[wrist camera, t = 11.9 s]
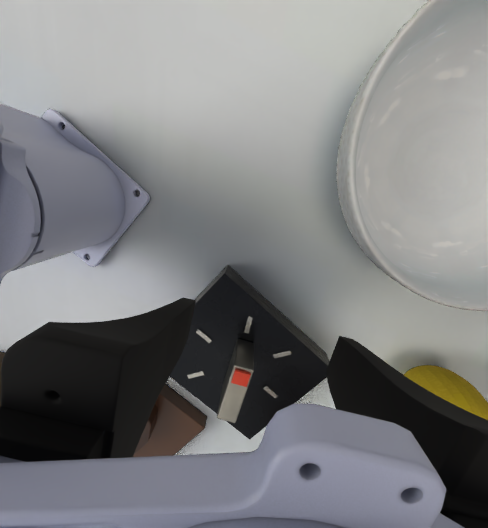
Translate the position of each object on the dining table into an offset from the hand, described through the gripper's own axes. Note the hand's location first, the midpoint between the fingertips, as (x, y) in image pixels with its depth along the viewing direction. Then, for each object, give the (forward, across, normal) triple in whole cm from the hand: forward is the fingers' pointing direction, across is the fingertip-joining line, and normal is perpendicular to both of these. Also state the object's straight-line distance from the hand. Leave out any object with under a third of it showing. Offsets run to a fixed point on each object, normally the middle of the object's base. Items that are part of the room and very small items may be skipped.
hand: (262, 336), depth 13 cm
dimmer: (+10, 0, +7) cm, 12 cm away
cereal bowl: (+10, -10, -11) cm, 18 cm away
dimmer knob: (+7, 0, +7) cm, 10 cm away
